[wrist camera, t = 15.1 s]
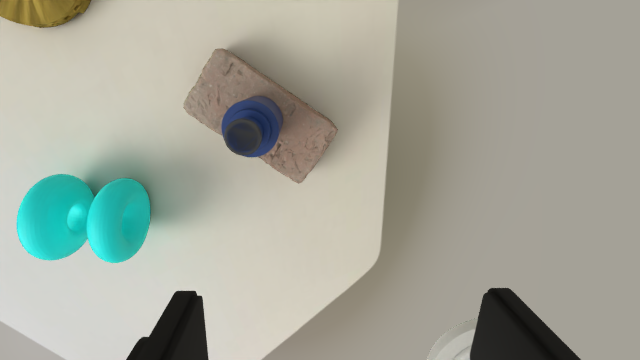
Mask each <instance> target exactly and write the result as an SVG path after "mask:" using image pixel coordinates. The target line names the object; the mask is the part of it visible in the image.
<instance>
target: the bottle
mask: <svg viewBox="0 0 640 360" xmlns="http://www.w3.org/2000/svg"><path fill="white" fill-rule="evenodd" d="M282 125H283V117H282V113H281V110H280V108H279V107H278V105H277V104H276V103H275V102H274V101H272V100H271V99H269V98H267V97H263V96H253V97H250V98H247V99H245V100H242V101H240V102H238V103H235V104H234V105H232V106H231V107H230V108H229V109H228V110H227V111H226V113H225V114H224V117H223V119H222V124H221V130H222V135H223V138H224V140H225V143H226V145H227V147H228V148H229V149H230V150H231V151H232V152H234V153H236V154H238V155H242V156H245V157H259V156H262V155H264V154H266V153H267V152H269V151H270V150H271V149H272V148H273V147H274V145H275V144H276V142H277V139H278V137H279V134H280V131H281V128H282Z"/></svg>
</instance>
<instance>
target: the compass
mask: <svg viewBox="0 0 640 360" xmlns="http://www.w3.org/2000/svg"><path fill="white" fill-rule="evenodd" d="M90 1H91V0H0V16H1V17H3V18H5V19H8V20H10V21H13V22H16V23H20V24H24V25H29V26H35V27H40V28H41V27H54V26H58V25H61V24H64V23H66V22H68V21H69V20H71V19H72V18H73V17H75V16H76V15H77V14H78V13H79V12H80V13H84V12H85V11H86V9H87V8H88V6H89V4H90Z"/></svg>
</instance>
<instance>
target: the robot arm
mask: <svg viewBox="0 0 640 360" xmlns="http://www.w3.org/2000/svg"><path fill="white" fill-rule="evenodd" d="M126 360H208V351H207V340H206V330H205V320H204V309H203V299H202V296H197V293H196V291H176V292H175V293H174V295H173V297H172V298H171V300H170V302H169V304H168V305H167V307H166V309H165V310H164V312H163V314H162V316H161V317H160V319H159V321H158V322H157V324H156V326H155V328H154V329H153V331H152V333H151V334H150V336H149V337H142V338H141V339H139V341H138V342H137V343H136V345H135V346H134V348H133V350H132V351H131V353H130V354H129V356H128V358H127V359H126ZM453 360H580V358H579V357H578V356H577V355H576V354H575V353H574V352H573V351H572V350H571V349H570V348H569V347H568V346H567V345H566V344H565V343H564V342H562V340H561V339H560V338H559V337H558V336H557V335H556V334H555V333H554V332H553V331H552V330H551V329H550V328H549V327H548V326H546V324H545V323H544V322H542V320H541V319H540V318H539V317H538V316H537V315H536V314H535V313H534V312H533V311H532V310H531V309H530V308H529V307H528V306H527V305H526V304H525V303H524V302H523V301H522V300H521V299H520V298H519V297H518V296H517V295H516V294H515V293H514V292H513V291H512V290H510V289H509V288H491V289H489V290H488V292H487V293H485V294H484V296H483V299H482V304H481V308H480V312H479V316H478V321H477V325H476V329H475V333H474V338H473V342H472V345H471V346H469V347H467V348H465V349H464V350H462V351H461V352H460V353H459V354H458V355H457V356H456V357H455V358H454V359H453Z"/></svg>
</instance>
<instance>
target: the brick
mask: <svg viewBox="0 0 640 360" xmlns="http://www.w3.org/2000/svg"><path fill="white" fill-rule="evenodd" d="M253 96H263V97H267V98H269V99H271V100H272V101H274V102H275V103H276V104H277V105H278V107H279V108H280V110H281V113H282V117H283V125H282V128H281V131H280V134H279V137H278V139H277V142H276V144H275V145H274V147H273V148H272V149H271V150H270V151H269V152H267V153H266V154H264V155H262V156H259V158H261V159H263V160H264V161H265V162H266V163H268V164H270V166H272V167H273V168H274V169H276V170H277V171H279V172H280V173H282V174H283V175H285V176H287V177H289V178H291V179H292V180H293V181H295V182H297V183H301V182H302V181H303V180H304V179H305V178H306V176H307V174H308V173H309V172H310V171H311V170H312V169H313V168H314V166H315V165H316V163H317V162H318V160H319V159H320V157H321V156H322V154H323V153H324V151H325V150H326V149H327V147H328V146H329V144H330V142H331V141H332V140H333V138H334V136H335V135H336V133H337V131H338V129H337V128H336V126H334V124H333V123H332V121H330V120H329V119H328V118H326V117H324V116H323V115H322V114H320V113H319V112H317V111H316V110H314V109H312V108H311V107H309V106H308V104H306V103H304V102H302V101H301V100H300V99H299V98H297V97H295V96H294V95H293V94H291V93H290V92H288V91H286V90H285V89H284V88H282V87H281V86H279V85H278V84H276V83H275V82H273V81H272V80H270V79H269V78H268V77H266V76H265V75H263V74H261V73H260V72H258V71H257V70H256V69H254V68H253V67H251V66H250V65H248V64H247V63H246V62H245V61H243V60H241V59H240V58H238V57H236V56H235V55H233V54H232V53H230V52H228V51H227V50H225V49H216V50H215V51H214V52H213V54H212V56H211V58H210V59H209V61H208V62H207V64H206V65H205V66H204V68H203V70H202V74H201V75H200V77H199V79H198V81H197V83H196V85H195V86H194V87H193V88H192V90H191V91H190V92H189V95H188V96H187V98H186V100H185V102H184V107H183V108H184V109H185V110H186V112H187V113H188V114H189V115H191V116H192V117H194V118H196V119H197V120H199V121H200V122H201V123H203V124H205V125H206V126H207V127H209V128H210V129H212V130H213V131H215V132H217V133H219V134H221V135H222V130H221V124H222V119H223V117H224V114H225V113H226V111H227V110H228V109H229V108H230V107H231V106H232V105H234V104H235V103H238V102H240V101H242V100H245V99H247V98H250V97H253Z"/></svg>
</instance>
